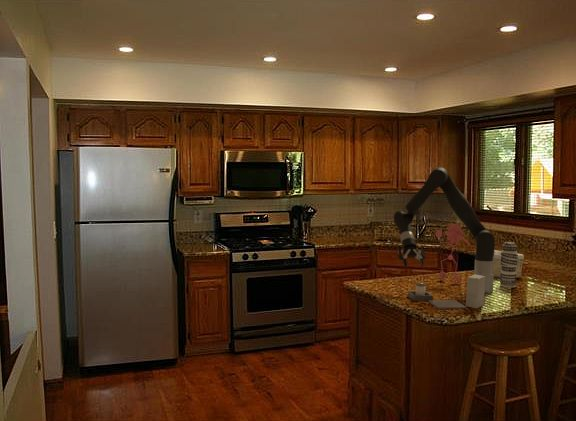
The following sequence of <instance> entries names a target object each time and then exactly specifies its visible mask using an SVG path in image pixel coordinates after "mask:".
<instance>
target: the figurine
mask: <svg viewBox="0 0 576 421" xmlns="http://www.w3.org/2000/svg"><path fill="white" fill-rule="evenodd" d="M444 234H445V236H447V237H446V239H447V241H445V242H443V241H441V237H442V235H443V232H442V230H441V229H438V230H436V231H435V236H436V238H437V239H438V238H439V243H440V244H447V245H450V246H451V247H452V250H451V253H450V255H448V257H447V258H445V259H442V260H441V261H440V265H441V271H439V280H438V283H439V282H441V280H442V281H443V280H445V279H447V280H449V278H446V277H447V274H446V272H445V271H443V270H444V269H443V263H442V262H443V261H446V260H450V261H451V260H452V261H453V262H454V263H455V268H457V266H458V265H457V264H458V263H457V262H456V261H455V260H454V257H453V252H454V249H455V248H456V246H457V245H458V244H459V243H460V241H462V240H463V241H464V242H465V243H466V244H467V245H468V246H470V247H471V246H472V245H471V244H470V243H469V242H468V240H467V239H466V238H464V237H463V236H464V235H465V233H464V231H463V230H462V225H459V223H455V224H454V223H453V222H450V223H449V226H447V231H445V232H444ZM454 243H455V245H454ZM452 275H453V278H452V281H451V283H450V285H453V284H454V281H457V282H458V284H460V285H461V284H462V280H461V279H460V277H459V276H458V275H457V270H455V271H454V273H453V274H452ZM463 282H465V283H466V281H463Z"/></svg>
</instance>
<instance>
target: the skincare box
mask: <svg viewBox="0 0 576 421" xmlns="http://www.w3.org/2000/svg"><path fill="white" fill-rule="evenodd" d="M484 292H485V276H481V275H476V274H474V273H473V274H472V275H469V276H468V277H467V279H466V296H465V307H466V308H467V307H469V308H473V309H479V308H481V307H483V306H484V305H485V293H484Z"/></svg>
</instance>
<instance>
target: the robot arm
mask: <svg viewBox="0 0 576 421" xmlns="http://www.w3.org/2000/svg"><path fill="white" fill-rule="evenodd" d="M438 188H439V189H441V191H442V192H443V193H444V195H445V198H446V200H447V202H448V205H449V206H450V208H451V209H452V211H453V212H454V214H455V215H456V217H458V219H459V220H460V222H462V223H463V225H464V226H465V227H466V228H467V229H468V231H469V232H470V234H471V236H472V237H473V239H474V241H475V243H476V250H475V254H474V273H473V275H474V274H476V275H481V276H485V292H484V294H488V293H494V278H495V277H494V275H493V274H492V269H493V256H494V250H495V247H496V246H495V245H496V244H495V243H496V240H495V236H494V234H493V233H492V232H490V231H489V230H488V229H487V228H486V227H485V226H484V225H483V224H482V223H481V220H480V219H479V218H478V216H477V213H476V212H475V210H474V208H473V206H472V205H471V204H470V202H469V201H468V200H467V198H466V197H465V196H464V194H463V193H462V192H461V191H460V189H459V188H458V187H457V186H456V184H455V183H454V181H453V179H452V178H451V176H450V174H449V172H448V171H447V169H446V168H444V167H440V166H437V167H435V168H433V170H431V172H430V173H429V176H428V177H427V179H426V181H425V182H424V184H423V186H422V187H421V188H420V189H419V190H418V191H417V192H416V193H415V194H414V195H413V196H412V197H411V198H410V199H409V201H408V202H407V203H406V204H405V209H406V211H407V212H404V211H402V210H397V211H395V213H394V215H393V221H394V224H395V226H396V228H397V229H398V231H399V232H398V233H399V236H400V243H401V246H402V249H401V248H398V249H397V257H398V260H399V261H402V263H403V266H404V267H407V266H408V262H407V258H415V259H416V260H418V261H419V265H420V267H421V268H423V266H424V261H425V259H426V257H427V256H426V253H425V250H424V249H423V248H421V249H418V246H417V242H416V239H415V235H414V231H413V229H412V226H411V224H412V222H413V220H414V219H415V216H416V215H417V213H418V211H419V210H420V209H421V208H422V207H423V205H424V204H425V203H426V202H427V200H428V198H429V197H430V196H431V195H432V194H433V193H434V192H435V191H436V190H437V189H438ZM402 254H404V255H403V256H402Z"/></svg>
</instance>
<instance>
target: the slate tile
mask: <svg viewBox="0 0 576 421" xmlns="http://www.w3.org/2000/svg"><path fill="white" fill-rule="evenodd" d="M427 302H428V303H429V304H431V305H432V306H433V307H435V308H436V309H437V310H440V309H443V310H446V309H449V310H450V309H467V306H466V305H464V304H463V303H461V302H459V301H458V300H456V299H433V300H428V301H427Z"/></svg>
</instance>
